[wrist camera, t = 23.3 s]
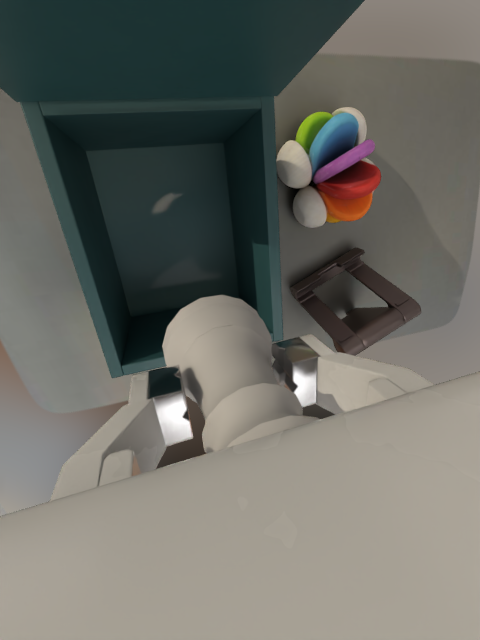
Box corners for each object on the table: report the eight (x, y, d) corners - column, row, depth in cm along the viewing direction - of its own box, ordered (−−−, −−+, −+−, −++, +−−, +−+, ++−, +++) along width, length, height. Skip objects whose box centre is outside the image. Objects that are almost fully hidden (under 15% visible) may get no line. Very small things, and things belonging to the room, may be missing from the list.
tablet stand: (352, 245, 32) (412, 257, 25) (369, 300, 36) (426, 325, 28) (287, 285, 32) (329, 309, 24) (311, 337, 35) (353, 372, 28)
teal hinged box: (244, 300, 31) (283, 339, 22) (125, 322, 28) (111, 378, 19) (229, 133, 25) (273, 90, 16) (73, 141, 22) (17, 95, 13)
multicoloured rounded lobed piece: (299, 239, 30) (338, 248, 24) (260, 144, 26) (296, 124, 19) (364, 198, 30) (421, 196, 24) (337, 98, 26) (397, 63, 20)
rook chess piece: (183, 398, 13) (219, 630, 6) (144, 313, 11) (129, 503, 4) (271, 362, 14) (399, 532, 7) (249, 276, 12) (396, 384, 5)
